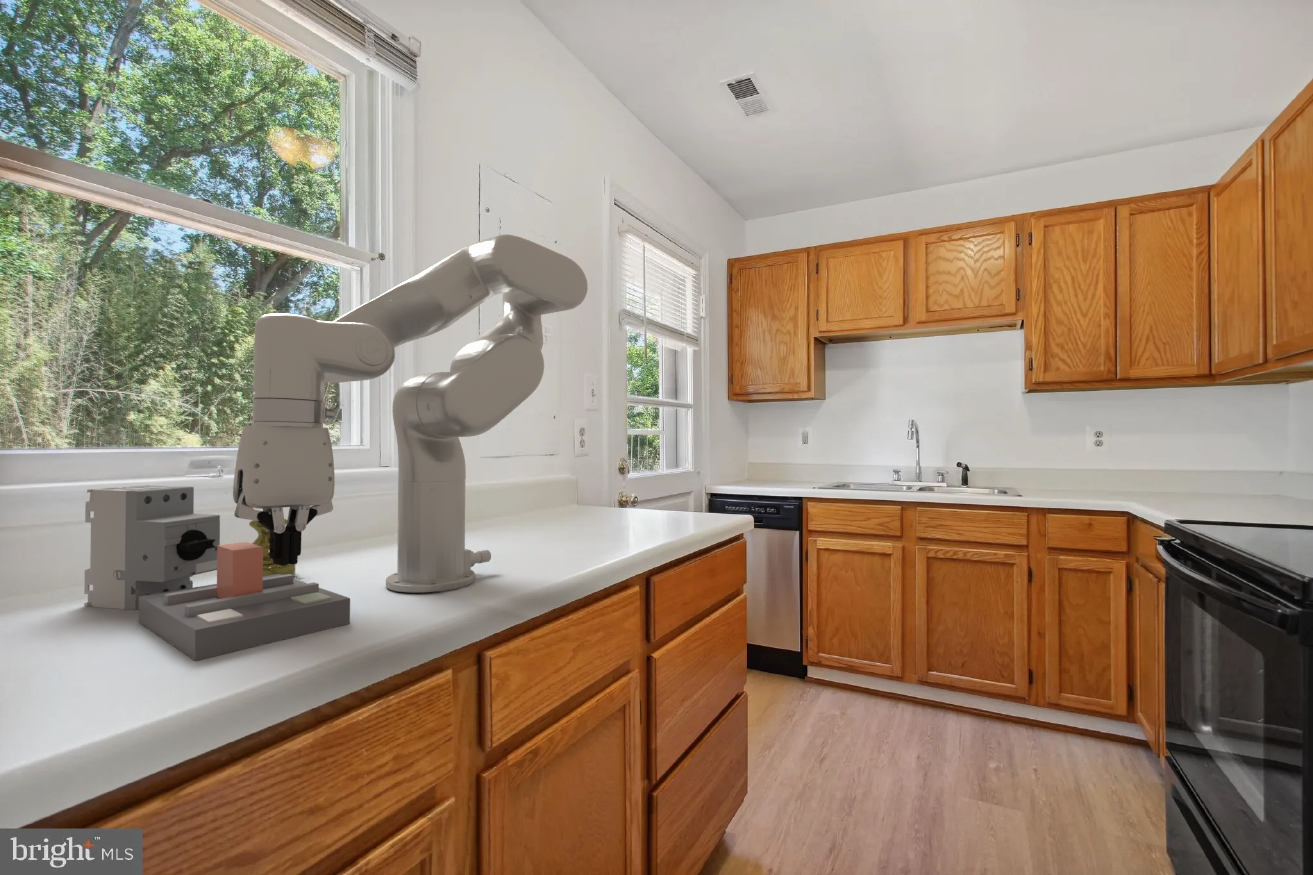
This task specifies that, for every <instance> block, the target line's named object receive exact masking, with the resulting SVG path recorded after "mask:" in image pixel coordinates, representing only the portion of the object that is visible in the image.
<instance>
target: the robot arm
mask: <svg viewBox="0 0 1313 875" xmlns="http://www.w3.org/2000/svg"><path fill="white" fill-rule="evenodd" d="M588 285H589V284H588V280H587V277H586V274H585V272H584V271H583V268H582V267H581V266H580V265H579V264H578V263H577V262H576V261H574V260H573V259H572V258H570V257H568V256H566V255H563V254H561V253H559V252H556V251H555V250H552V249H549V248H547V247H546V246H543V245H541V244H540V243H539V244H538V243H536V242H534V241H531V240H529V239H526V238H523V237H520V236H517V235H514V234H513V235H512V234H500V235H497V236H493V237H490V238H487V239H483V240H479V241H476V242H473V243H471V244H468V245H466V246H464V247H462V248H460V249H458V250H456V251H455V252H454V253H452V254H450V255H448V256H446V257H445V258H443V259H442V260H441V261H438V262H437V263H435V264H434V265H432V266H430V267H428V268H427V269H425V270H423V271H422V272H420V273H418V274H416V275H415V276H413V277H410V278H409V279H407V280H405V281H404V282H401V283H400V284H397V285H396V286H393V288H391V289H389V290H388V291H386V292H384V293H382V294H381V295H379V296H377V297H376V298H373V299H371V300H369V301H367V302H365V303H363V304H361V305H360V306H358V307H356V308H354V309H352V310H351V311H348V312H347V313H345V314H343V315H342V316H340V317H337V318H336V319H334V320H333V321H330V320H329V321H326V320H317V319H316V318H313V317H309V316H305V315H301V314H294V313H293V314H292V313H284V312H283V313H281V312H280V313H279V312H274V313H267V314H263V315H261V316H260V317H258V319H257V320H256V322H255V326H254V344H253V346H254V347H253V348H254V349H253V351H254V352H253V380H252V381H253V384H252V385H253V386H252V421H251V422H252V425H243V428H242V431H241V435H240V439H239V444H238V449H237V454H236V461H235V468H234V474H233V475H234V477H233V487H232V489H233V490H232V497H233V501H234V503H235V504H236V507H235V511H234V517H236V518H238V519H242V520H249V521H252V520H255V521H258V522H259V523H260V524H261V525H263V526H264V527H265V528H266V530H268V531H270V545H269V556H270V558H271V559H273V563H275V564H278V565H281V566H285V565H288V564H291V565H292V564H295V565H297V564H298V559H299V558H298V556H301V554H302V532H303V531H304V530H306V528H307V526H308V524H310V523H311V521H312V520H313V519H314V518H316V517H318V516H321V515H325V514H328V513H332V511H334V506H333V505H334V504H333V502H332V500H333V499H334V495H335V484H336V483H335V482H336V480H335V462H334V451H333V447H332V446H333V444H332V439H331V435H330V431H329V428H328V427H324V424H325V423H326V420H332V419H334V417H335V410H334V409H333V408H328V407H326V403H325V383H329V384H339V383H347V382H360V381H361V382H362V381H368V380H373V379H376V378H379V377H380V376H383V375H384V374H386V373H387V372H388V371H389V370H390V369H391V367H392V366H393V364H394V362H395V359H396V348H397V347H399V346H401V345H403V344H406V343H409V342H412V341H415V340H417V339H418V340H419V339H423V338H425V337H429V336H431V335H433V334H435V333H439V332H440V331H443V330H445V329H447V328H449V327H450V326H451V325H453V324H454V323H456V322H457V321H459V320H460V319H461V318H462V317H464V316H465V315H467V314H468V313H470V312H471V311H473V310H474V309H475V308H477V307H479V306H480V305H482V304H483V303H485V302H486V301H487V300H489V299H490V298H492V297H494V296H496V295H500V294H502V307H503V308H502V309H503V310H502V317H501V319H500V320H499V321H498V322H497V323H495V325H493V326H492V327H490V328H489V329H488V330H487V331H485V332H483V333H482V334H481V335H479V336H478V337H477V338H475V339H473V340H472V341H470V342H468V343H467V344H466V345H464V346H463V347H462V348H460V349H459V351H457V353H456V354H455V355H454V357H453V359H452V361H451V363H450V368H449V371H440V372H430V373H422V374H418V375H415V376H412V377H411V378H408V379H407V380H405V381H403V383H402V384H401V385H400V386H399V387H398V389H397V390H396V392H395V394H394V397H393V401H392V419H393V426H394V430H395V436H396V437H395V438H396V444H397V458H398V459H397V460H398V461H397V462H398V468H397V469H398V470H397V471H398V472H397V473H398V475H397V479H398V481H397V483H398V484H397V560H396V562H397V564H396V565H397V568H396V570H397V572H394V573H392V574H390V575H388V576H387V577H386V578H385V587H386V588H387V589H389V590H392V591H393V592H400V593H415V594H417V593H418V594H419V593H423V594H424V593H435V592H437V593H438V592H445V591H452V590H455V589H459V588H463V587H466V586H468V585H470V584H472V583H473V582H475V580H476V573H475V571H474V570H472V567H474V566H475V564H482V563H483V564H484V563H487V562H488V563H489V562H490V561H491V559H492V553H491V552H490V550H488V549H484V550H478V551H476V552H474V551H472V550H471V549H467V548H466V478H467V476H466V475H467V474H466V473H467V472H466V468H467V467H466V459H465V458H466V457H465V454H464V450H463V446H462V443H461V441H460V438H463V437H464V438H466V437H467V438H470V437H475V436H479V435H482V434H484V433H486V432H488V431H489V430H491V429H492V428H494V427H495V426H497V425H498V424H499V423H501V421H502V420H504V419H505V418H506V417H508V415H510V414H511V413H512V412H513V411H514V410H516V408H518V407H519V406H520V405H521V404H522V403H523V402H524V401H526V400H527V399H528V398H529V397H530V396H531V395H532V394H534V392H535V391H536V390H537V389H538V387H539V385H540V383H541V381H542V379H543V376H544V371H545V361H544V355H543V353H542V349H543V345H544V337H543V335H544V334H543V324H542V323H543V322H542V315H548V314H553V313H559V312H565V311H570V310H573V309H575V308H577V307H579V306H580V305H581V304H582V303H583V302H584V300H585V298H586V297H587V293H588V289H589V288H588ZM284 508H289V509H288V510H289V511H288V515H287V519H286V520H287V524H286V525H285V521H284V519H285V516H284V515H285V514H284ZM257 509H262V510H257Z"/></svg>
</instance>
